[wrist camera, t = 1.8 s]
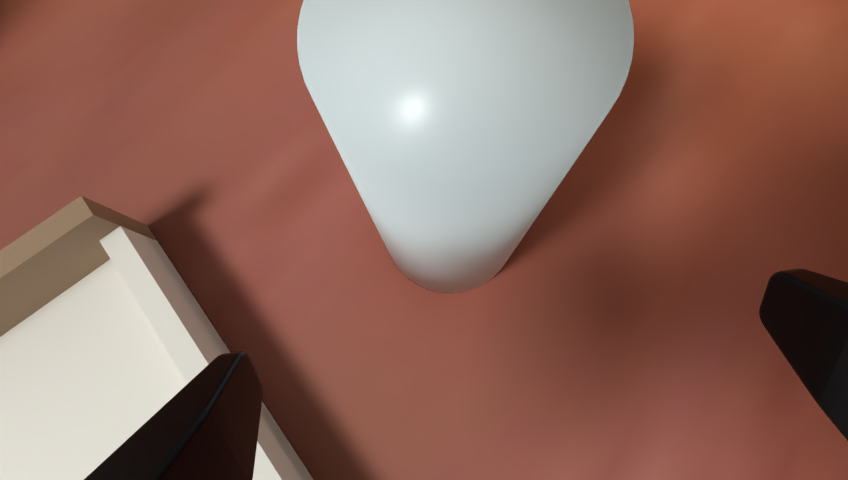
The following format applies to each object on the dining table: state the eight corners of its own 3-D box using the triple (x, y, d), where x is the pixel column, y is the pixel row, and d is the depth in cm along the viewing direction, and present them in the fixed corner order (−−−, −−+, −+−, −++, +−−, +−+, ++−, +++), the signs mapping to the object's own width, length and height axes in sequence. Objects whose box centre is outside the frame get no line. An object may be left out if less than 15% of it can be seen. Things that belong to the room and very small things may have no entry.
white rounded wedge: (542, 228, 20) (705, 19, 8) (450, 321, 19) (467, 255, 7) (448, 145, 22) (459, -152, 9) (358, 229, 21) (230, 29, 8)
